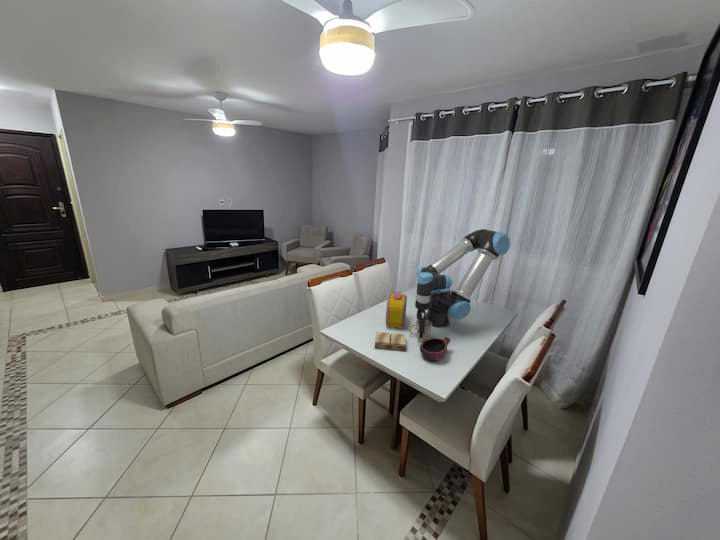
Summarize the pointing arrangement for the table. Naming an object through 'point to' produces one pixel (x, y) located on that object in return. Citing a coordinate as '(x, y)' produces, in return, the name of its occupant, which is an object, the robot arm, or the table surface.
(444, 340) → the bowl
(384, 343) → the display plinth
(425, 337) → the mug
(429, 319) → the robot arm
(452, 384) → the table surface
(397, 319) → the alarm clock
